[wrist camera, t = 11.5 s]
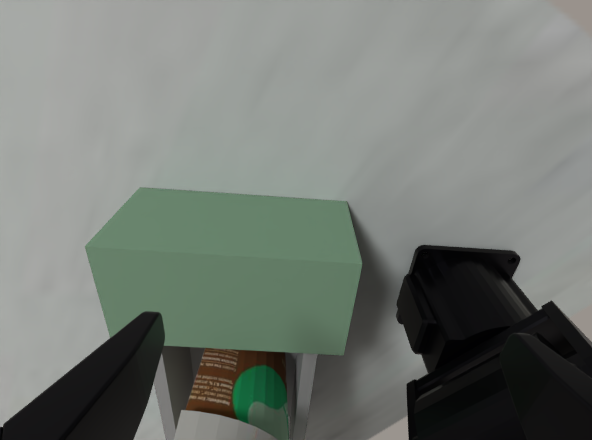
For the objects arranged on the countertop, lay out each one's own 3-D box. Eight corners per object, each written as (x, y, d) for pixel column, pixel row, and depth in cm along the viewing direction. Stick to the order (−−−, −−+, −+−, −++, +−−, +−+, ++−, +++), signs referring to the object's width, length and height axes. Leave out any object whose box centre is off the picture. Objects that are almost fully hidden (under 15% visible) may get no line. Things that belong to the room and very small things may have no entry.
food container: (296, 408, 30) (294, 568, 21) (223, 404, 30) (191, 564, 21) (307, 299, 24) (312, 462, 15) (215, 294, 23) (167, 456, 15)
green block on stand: (346, 201, 21) (362, 264, 15) (312, 410, 31) (315, 490, 26) (139, 187, 20) (84, 246, 15) (176, 403, 31) (150, 482, 25)
